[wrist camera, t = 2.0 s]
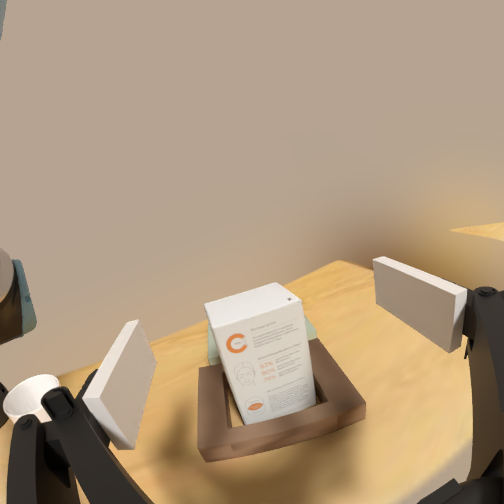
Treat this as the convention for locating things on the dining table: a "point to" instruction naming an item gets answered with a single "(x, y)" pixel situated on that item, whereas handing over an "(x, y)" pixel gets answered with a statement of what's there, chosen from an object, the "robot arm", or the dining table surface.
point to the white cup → (29, 397)
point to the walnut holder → (281, 428)
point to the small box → (264, 351)
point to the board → (214, 354)
